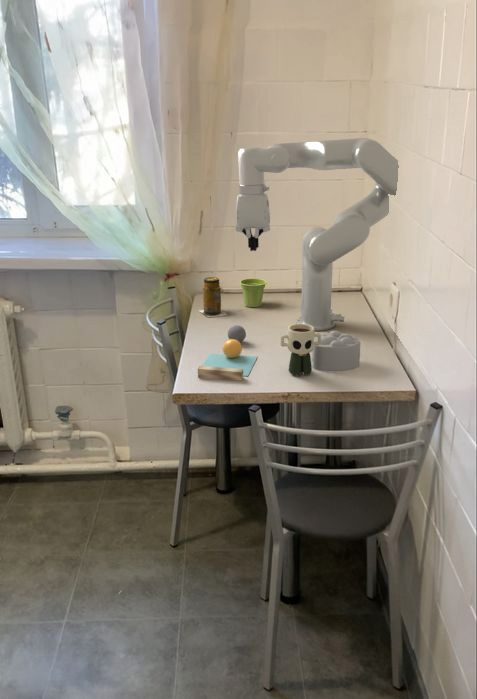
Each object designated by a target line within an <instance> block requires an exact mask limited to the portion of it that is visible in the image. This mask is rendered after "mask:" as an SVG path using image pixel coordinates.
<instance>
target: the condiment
mask: <svg viewBox="0 0 477 699" xmlns="http://www.w3.org/2000/svg"><path fill="white" fill-rule="evenodd" d="M221 288H222V287H221V286H220V279H219V277H215V276H214V277H213V276H211V277H209V276H208V277H205V278H204V279H203V287H202V290H203V291H202V293H203V294H202V298H203V299H202V303H203V304H202V305H203V309H201V310H200V309H199V310H198V312H200V313H201V314H203V315H204V316H205V317H207V318H214V317H221V316H227V315H228V313H226V312H225V311H222V291H221V290H222V289H221Z"/></svg>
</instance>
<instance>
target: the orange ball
mask: <svg viewBox="0 0 477 699" xmlns="http://www.w3.org/2000/svg"><path fill="white" fill-rule="evenodd" d="M242 349H243V348H242V343H240V342H239V341H237V340H235V339H230V340H229V339H228V340H226V341H225V342H224V343H223V345H222V352H223V353H222V354H225V355H226V356H227V357H228V358H236V357H238V356H239V355H241V353H242V351H243V350H242Z"/></svg>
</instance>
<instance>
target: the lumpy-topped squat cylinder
mask: <svg viewBox="0 0 477 699" xmlns="http://www.w3.org/2000/svg"><path fill="white" fill-rule="evenodd" d="M320 334H321V344H320V345H314V349H313V351H312V353H311V354H312V355H311V363H312V369H314V370H316V371H319V372H320V371H321V372H333V373H335V372H340V373H341V372H348V371H353V370H356V369H357V368H359V367H360V360H361V358H360V357H361V340H360V339H359V338H357V337H354V336H352V335H351V334H349V333H341V332H340V331H339V330H331V331H330V332H329V333H324V332H323V333H320ZM317 341H318V337H314V342H317Z"/></svg>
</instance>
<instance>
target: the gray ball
mask: <svg viewBox="0 0 477 699" xmlns="http://www.w3.org/2000/svg"><path fill="white" fill-rule="evenodd" d="M246 336H247V334H246V330H245V328H244V327H243V326H241V325H239V324H236V325H232V326H231V327H230V328H229V329H228V331H227V338H228V340H230V339H235V340H237V341H239V342H240V344H242V343H243V341H245V339H246Z"/></svg>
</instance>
